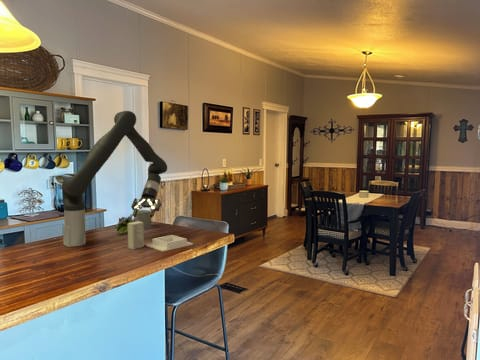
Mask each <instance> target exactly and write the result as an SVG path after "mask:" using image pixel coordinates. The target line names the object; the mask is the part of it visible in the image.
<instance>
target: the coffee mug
mask: <svg viewBox="0 0 480 360" xmlns="http://www.w3.org/2000/svg"><path fill="white" fill-rule="evenodd" d="M150 213H151V209H139V210H138V212H137V215H136V217H134V216H133V213H131V214H130V215H129V216H128V217H130V218H131V221H132V219H135V220H136V221H140V222H143V231H144V230H149V229H152V218H151V217H150ZM136 221H135V222H136Z"/></svg>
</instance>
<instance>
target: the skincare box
mask: <svg viewBox="0 0 480 360" xmlns="http://www.w3.org/2000/svg"><path fill="white" fill-rule="evenodd" d="M144 242H145V241H144V230H143V222H140V221H136V222H131V223H128V230H127V248H128V249H132V250H135V249H140V248H143V247H144V245H145V244H144Z"/></svg>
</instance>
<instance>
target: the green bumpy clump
mask: <svg viewBox="0 0 480 360" xmlns="http://www.w3.org/2000/svg"><path fill="white" fill-rule="evenodd" d="M135 221H136V220H135V219H134V218H132V221H131V218H130V217H129V216H127V217H125V216H122V217H119V218H118V222H117V223H116V225H115V226H114V228H115V229H116V230H115V231H116V232H117V236H120V235H121V234H125V233H128V223H131V222H135Z"/></svg>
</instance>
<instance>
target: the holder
mask: <svg viewBox="0 0 480 360" xmlns="http://www.w3.org/2000/svg"><path fill="white" fill-rule="evenodd" d="M192 245H194V243H193V242H189V241H188V239H187V238H185V237H181V236H179V235H174V234H169V235H165V236H160V237H155V238H152V243H147V244H145V246H146V247H148V248H151V249H155V250H156V251H160V252H167V251H171V250H175V249H179V248H180V249H181V248H184V247H188V246H192Z"/></svg>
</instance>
